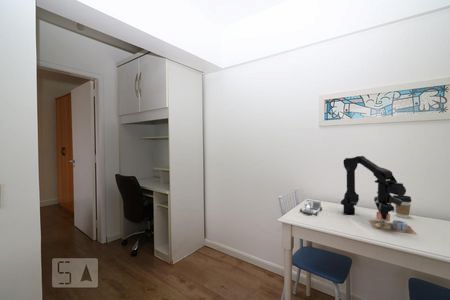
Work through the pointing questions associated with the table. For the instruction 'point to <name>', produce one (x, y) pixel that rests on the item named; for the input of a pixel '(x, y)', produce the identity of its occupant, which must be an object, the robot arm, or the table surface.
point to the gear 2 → (400, 225)
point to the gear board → (390, 227)
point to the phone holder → (312, 207)
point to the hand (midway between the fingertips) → (382, 217)
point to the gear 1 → (379, 216)
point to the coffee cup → (403, 207)
